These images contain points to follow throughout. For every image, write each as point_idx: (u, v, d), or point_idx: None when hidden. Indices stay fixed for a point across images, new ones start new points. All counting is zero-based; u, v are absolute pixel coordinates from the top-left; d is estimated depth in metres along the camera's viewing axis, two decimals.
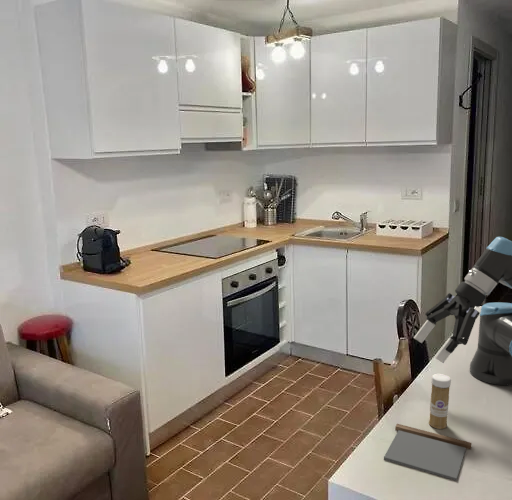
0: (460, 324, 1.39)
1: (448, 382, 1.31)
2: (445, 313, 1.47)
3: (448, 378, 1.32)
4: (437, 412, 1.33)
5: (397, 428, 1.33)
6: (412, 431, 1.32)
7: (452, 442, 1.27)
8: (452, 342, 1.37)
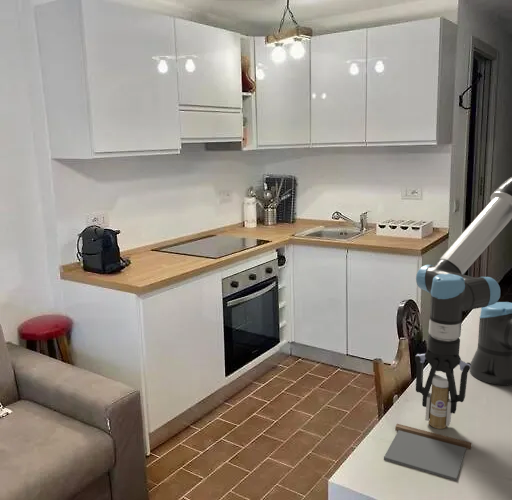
0: (453, 382, 1.31)
1: None
2: None
3: None
4: (437, 412, 1.33)
5: (397, 428, 1.33)
6: (412, 431, 1.32)
7: (452, 442, 1.27)
8: (453, 404, 1.32)
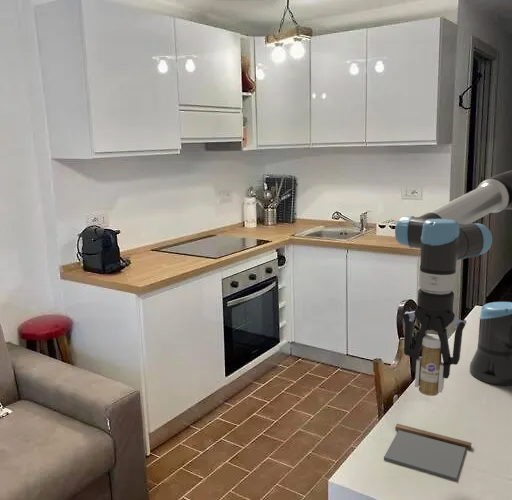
0: (446, 342, 1.16)
1: (440, 342, 1.16)
2: None
3: None
4: (427, 377, 1.18)
5: (397, 428, 1.33)
6: (412, 431, 1.32)
7: (452, 442, 1.27)
8: (446, 367, 1.17)
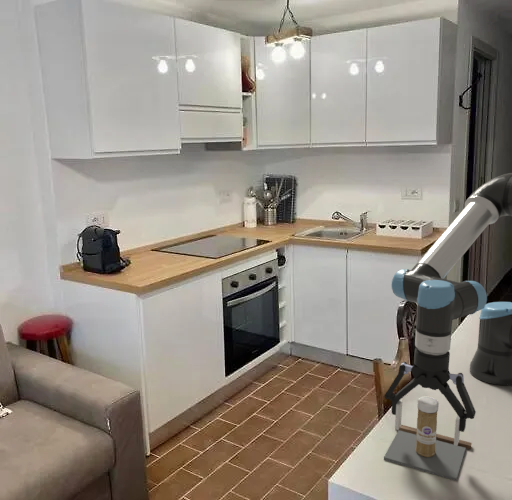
0: (453, 397, 1.17)
1: (435, 406, 1.18)
2: None
3: (435, 402, 1.19)
4: (423, 439, 1.20)
5: None
6: (412, 431, 1.32)
7: (452, 442, 1.27)
8: (462, 421, 1.17)
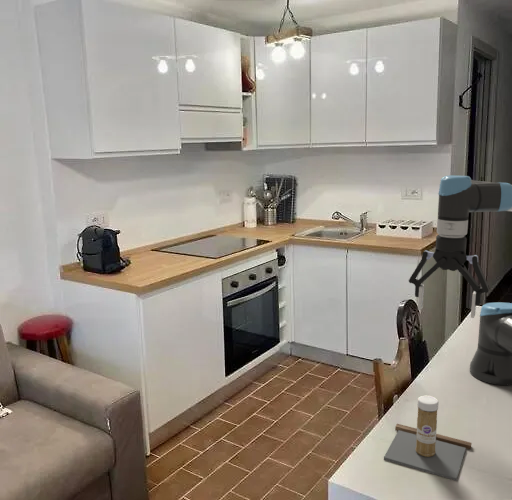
0: (469, 275, 1.36)
1: (435, 405, 1.19)
2: None
3: (435, 400, 1.20)
4: (423, 438, 1.21)
5: (397, 428, 1.33)
6: (412, 431, 1.32)
7: (452, 442, 1.27)
8: (478, 295, 1.36)
